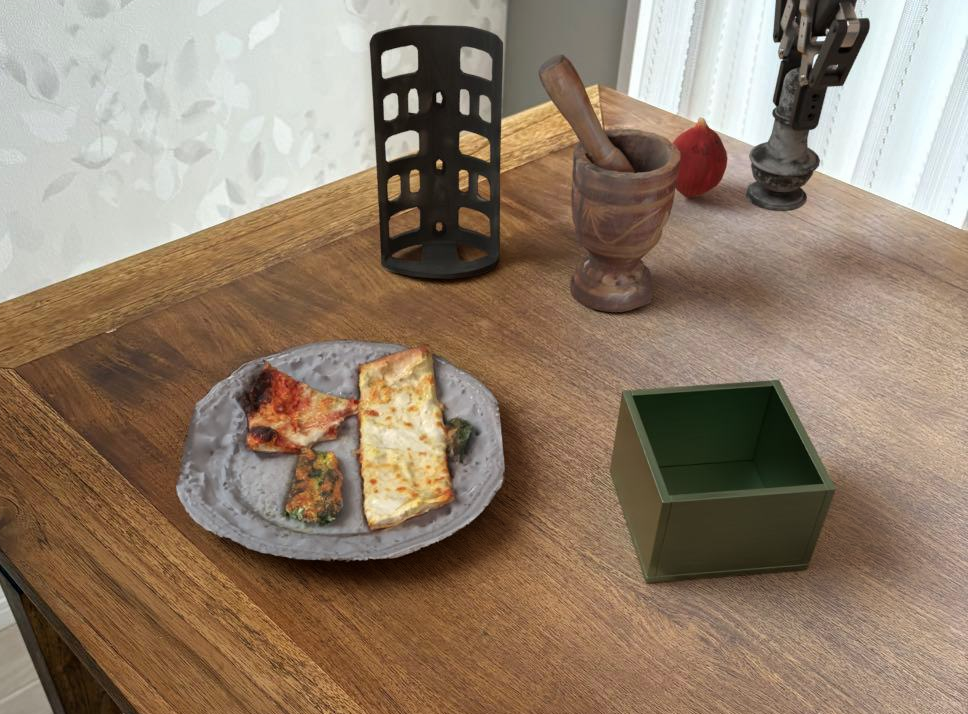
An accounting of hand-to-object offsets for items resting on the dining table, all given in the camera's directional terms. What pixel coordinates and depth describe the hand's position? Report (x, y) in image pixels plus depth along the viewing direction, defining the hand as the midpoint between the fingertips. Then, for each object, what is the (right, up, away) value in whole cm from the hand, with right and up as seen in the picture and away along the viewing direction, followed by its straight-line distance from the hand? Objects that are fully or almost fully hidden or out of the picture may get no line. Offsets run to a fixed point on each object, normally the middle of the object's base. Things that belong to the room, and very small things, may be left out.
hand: (794, 115), depth 92 cm
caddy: (-11, -34, -13) cm, 38 cm away
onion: (-4, -1, +18) cm, 19 cm away
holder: (-29, -9, +11) cm, 33 cm away
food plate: (-37, -29, -9) cm, 48 cm away
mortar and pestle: (-16, -13, +7) cm, 22 cm away
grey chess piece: (0, -5, +5) cm, 7 cm away
